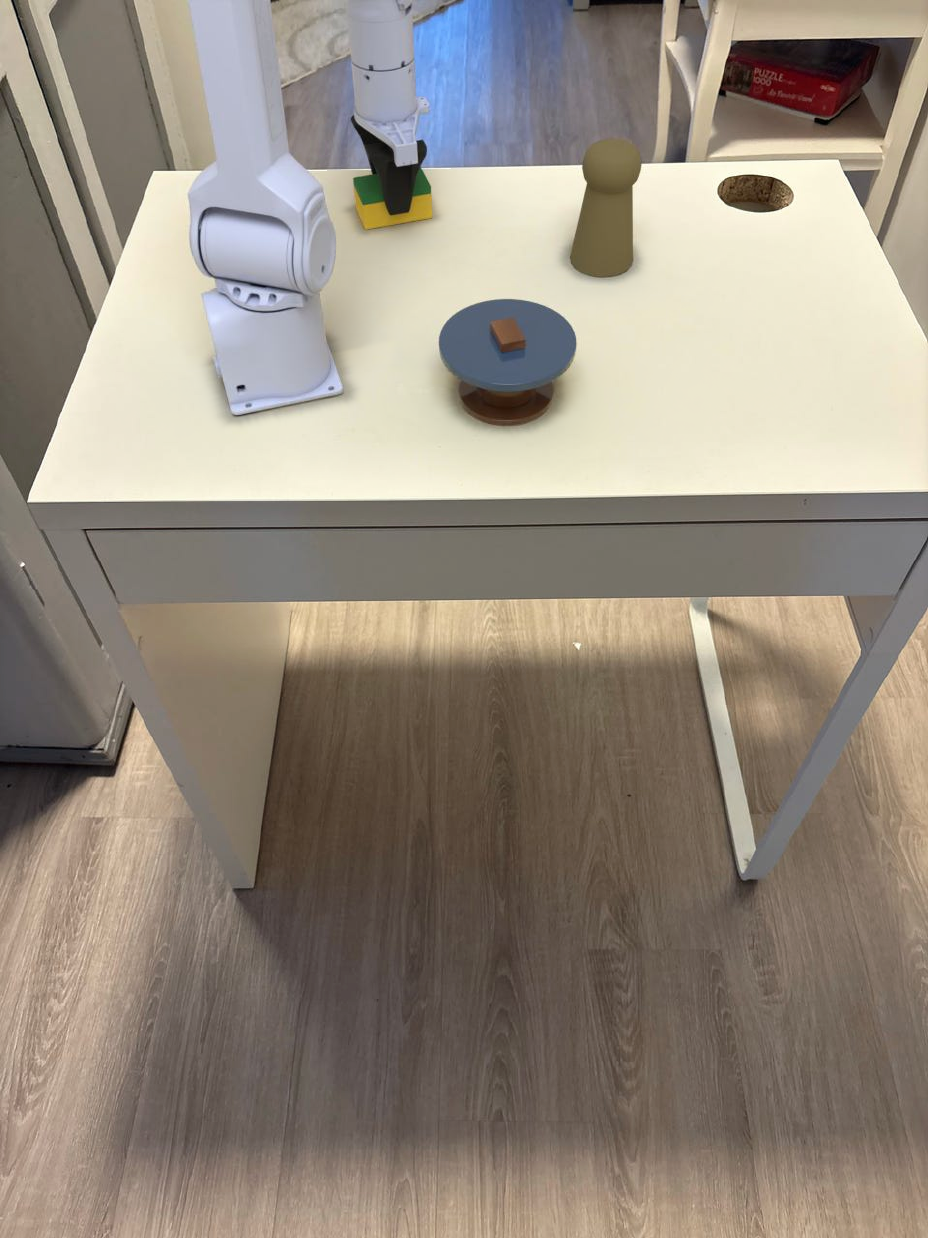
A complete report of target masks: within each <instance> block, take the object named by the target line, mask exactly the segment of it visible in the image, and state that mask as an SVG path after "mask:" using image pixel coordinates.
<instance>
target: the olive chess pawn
mask: <svg viewBox="0 0 928 1238" xmlns="http://www.w3.org/2000/svg"><path fill="white" fill-rule="evenodd" d="M581 165H582V166H581V169H582V175H583V179H584V181H585V182H586V186H585V190H584V194H583V199H582V203H581V207H580V211H579V216H578V221H577V225H576V229H575V234H574V237H573V243H572V246H571V250H570V255H569V259H570V264H571V265H572V267H573V268H575V270H577V271H578V272H580V273H582V274H584V275H587V276H590V277H597V278H611V277H612V278H613V277H615V276H619V275H622V274H624V273H626V272H628V270H629V269H630V268H631V267H632V265H633V262H634V199H633V198H634V194H633V193H634V191H633V190H634V188H633V186H634V185H635V184H636V182H638V179H639V177H640V174H641V170H642V165H643V163H642V156H641V154H640V151H639V149H638V148H637V146H636V145H635V144H633V143H632V142H630V141H627V140H625V139H622V138H615V137H612V138H611V137H610V138H609V137H608V138H603V139H600V140H597V141H595V142H593V143H592V144H590V145H589V147H588V148H587V150H586V151H585V153H584V155H583V159H582V164H581Z"/></svg>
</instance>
